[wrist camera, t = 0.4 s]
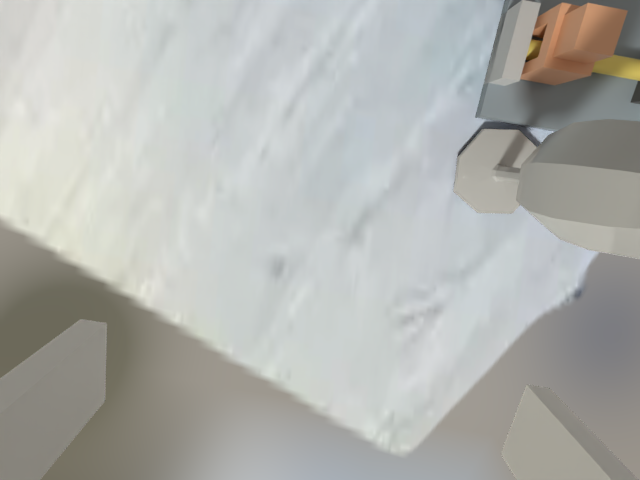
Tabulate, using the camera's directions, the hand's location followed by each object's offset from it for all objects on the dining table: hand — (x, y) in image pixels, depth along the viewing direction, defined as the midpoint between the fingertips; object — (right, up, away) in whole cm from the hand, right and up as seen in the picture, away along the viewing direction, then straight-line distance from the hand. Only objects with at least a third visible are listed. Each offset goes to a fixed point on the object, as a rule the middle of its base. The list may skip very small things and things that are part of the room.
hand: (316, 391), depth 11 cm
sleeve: (+20, +22, +21) cm, 36 cm away
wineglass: (+18, +12, +25) cm, 33 cm away
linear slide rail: (+25, +21, +23) cm, 39 cm away
